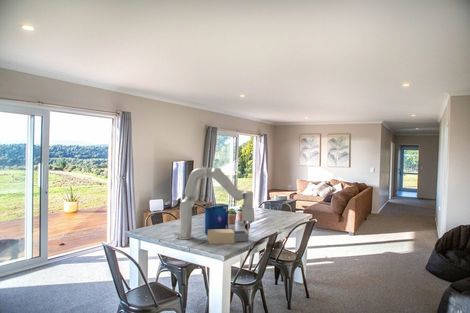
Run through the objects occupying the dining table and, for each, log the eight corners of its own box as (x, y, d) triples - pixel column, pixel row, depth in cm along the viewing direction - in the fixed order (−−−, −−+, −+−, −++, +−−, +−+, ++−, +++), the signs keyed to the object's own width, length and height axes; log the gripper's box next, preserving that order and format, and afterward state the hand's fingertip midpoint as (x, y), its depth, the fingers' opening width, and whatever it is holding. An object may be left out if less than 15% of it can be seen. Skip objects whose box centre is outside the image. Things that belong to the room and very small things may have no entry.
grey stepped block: (224, 241, 246) (225, 225, 246) (222, 238, 255) (222, 222, 255) (249, 240, 250) (249, 225, 250) (246, 237, 260) (246, 222, 260)
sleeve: (209, 243, 242) (209, 233, 242) (207, 239, 254) (207, 229, 254) (234, 242, 246) (234, 232, 246) (231, 238, 258) (231, 228, 258)
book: (207, 236, 264) (208, 206, 264) (203, 234, 270) (204, 205, 270) (228, 232, 277) (229, 204, 277) (224, 231, 283) (224, 203, 283)
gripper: (239, 207, 249) (239, 230, 249) (258, 207, 253) (257, 230, 253) (237, 205, 257) (237, 228, 257) (255, 205, 260) (255, 227, 260)
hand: (247, 229), depth 255 cm, fingers closed
